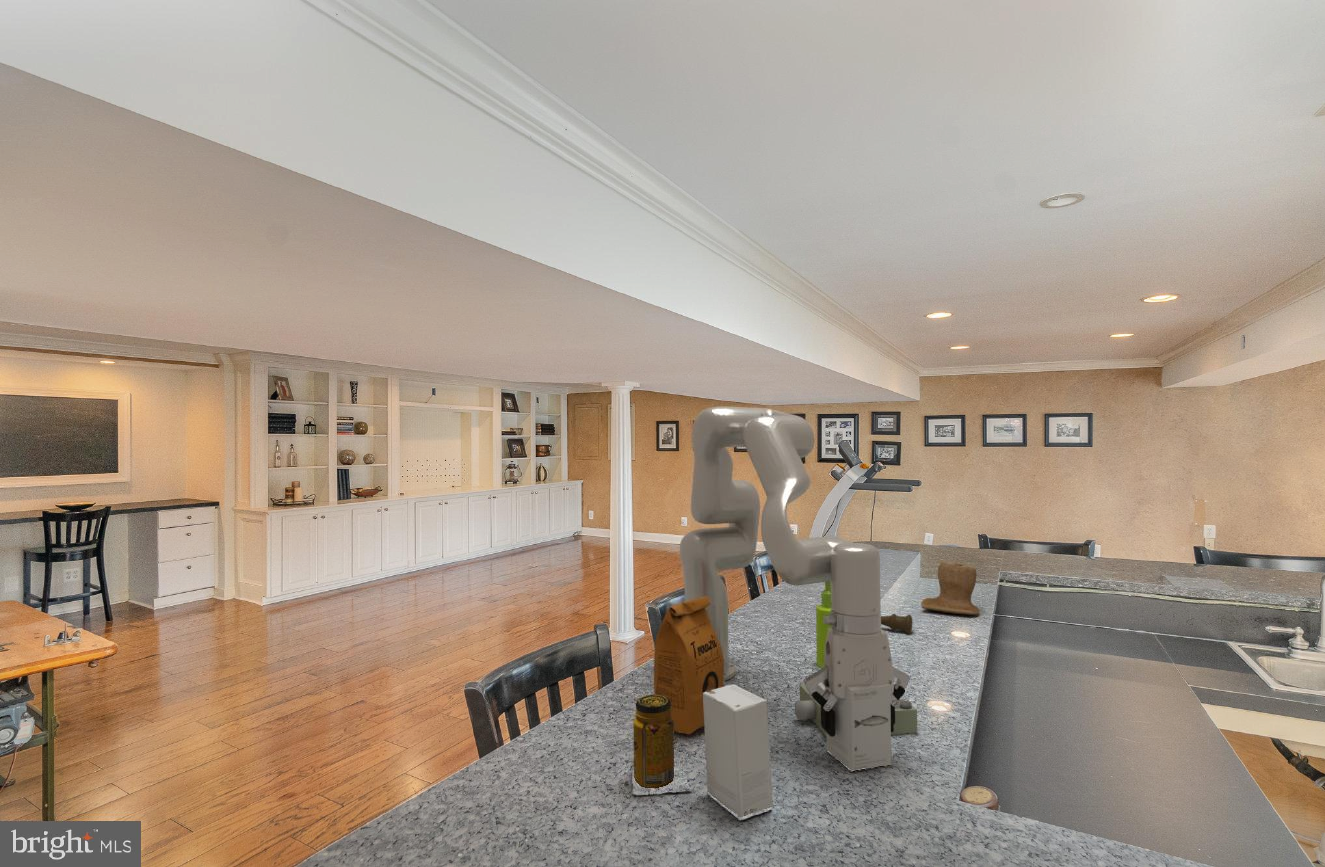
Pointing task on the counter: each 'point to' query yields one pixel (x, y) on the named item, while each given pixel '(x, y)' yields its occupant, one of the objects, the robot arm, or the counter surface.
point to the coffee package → (687, 662)
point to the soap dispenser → (820, 626)
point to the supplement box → (862, 727)
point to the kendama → (898, 622)
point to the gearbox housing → (812, 710)
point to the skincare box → (737, 749)
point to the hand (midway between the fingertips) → (858, 730)
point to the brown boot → (954, 589)
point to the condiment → (653, 742)
